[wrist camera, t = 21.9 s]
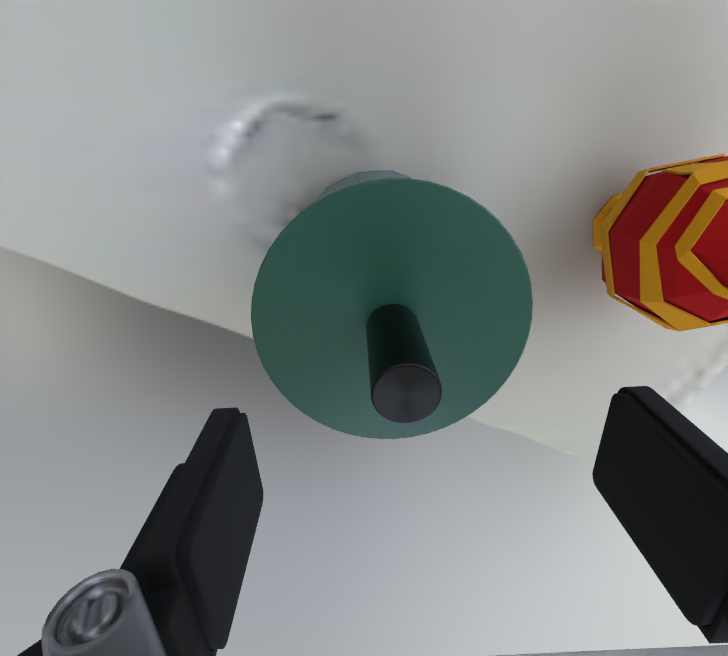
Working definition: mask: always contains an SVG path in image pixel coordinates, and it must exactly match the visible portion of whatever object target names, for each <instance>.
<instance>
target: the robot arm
mask: <svg viewBox="0 0 728 656" xmlns="http://www.w3.org/2000/svg"><path fill="white" fill-rule="evenodd" d="M593 481H594V484H595V486H596V487H597V489H598V491H599V492H600V493H601V495H602V496H603V498H604V499H605V501H606V502H607V503H608V505H609V507H610V508H611V510H612V511H613V512H614V514H615V515H616V517H617V518H618V520H619V521H620V523H621V524H622V526H623V527H624V528H625V530H626V531H627V533H628V534H629V536H630V537H631V538H632V540H633V542H634V543H635V545H636V546H637V547H638V549H639V550H640V552H641V553H642V555H643V556H644V558H645V559H646V561H647V562H648V564H649V565H650V567H651V568H652V569H653V571H654V572H655V574H656V575H657V577H658V578H659V580H660V581H661V583H662V584H663V585H664V587H665V588H666V590H667V591H668V593H669V594H670V596H671V597H672V599H673V600H674V601H675V603H676V604H677V606H678V607H679V609H680V610H681V612H682V613H683V615H684V616H685V617H686V618H687V620H688V621H689V622H691V623H692V624H693V625H697V626H698V627H699V629H700V630H701V632H702V633H703V634H704V636H705V638H706V639H707V640H708V642H709V643H728V453H727V452H726V451H724V450H723V449H722V448H721V447H720V446H718V445H717V444H716V443H715V442H714V441H713V440H712V439H710V438H709V437H708V436H707V435H706V434H704V433H703V432H702V431H701V430H700V429H699V428H698V427H696V426H695V425H694V424H693V423H692V422H690V421H689V420H688V419H687V418H686V417H685V416H683V415H682V414H681V413H680V412H679V411H678V410H676V409H675V408H674V407H673V406H672V405H671V404H669V403H668V402H667V401H666V400H665V399H664V398H662V397H661V396H660V395H659V394H658V393H656V392H655V391H654V390H653V389H652V388H650V387H648V386H636V387H623V388H621V389H620V390H619V391H618V393H616V394H614V395H613V396H612V399H611V403H610V407H609V410H608V414H607V418H606V422H605V426H604V430H603V434H602V438H601V442H600V445H599V449H598V453H597V457H596V461H595V465H594V469H593ZM262 503H263V487H262V483H261V478H260V474H259V469H258V465H257V460H256V455H255V451H254V446H253V441H252V437H251V432H250V428H249V423H248V419H247V415H246V414H245V413H240V412H239V409H238V408H219V409H214V410H213V411H212V412H211V414H210V416H209V418H208V420H207V422H206V424H205V426H204V428H203V429H202V431H201V433H200V435H199V437H198V439H197V441H196V443H195V445H194V447H193V449H192V451H191V452H190V454H189V456H188V458H187V460H186V462H185V463H182V464H179V465H178V466H176V468H175V469H174V471H173V473H172V474H171V476H170V478H169V479H168V481H167V483H166V485H165V487H164V489H163V491H162V492H161V494H160V496H159V498H158V500H157V501H156V503H155V505H154V507H153V509H152V511H151V512H150V514H149V516H148V518H147V520H146V522H145V523H144V525H143V527H142V529H141V531H140V533H139V534H138V536H137V538H136V540H135V542H134V544H133V545H132V547H131V549H130V551H129V553H128V554H127V556H126V558H125V560H124V562H123V564H122V565H121V567H120V569H110V570H106V571H101V572H98V573H96V574H94V575H92V576H90V577H88V578H86V579H84V580H82V581H81V582H80V583H78V584H77V585H75V586H74V587H73V588H71V589H70V590H69V591H68V592H67V593H66V594H65V595H64V596H63V597H62V598H61V599H60V600H59V601H58V602H57V604H56V605H55V606H54V608H53V609H52V611H51V612H50V613H49V615H48V617H47V619H46V622H45V624H44V627H43V630H42V639H41V640H39V641H38V642H37V643H35V644H33V645H32V646H31V647H29V648H28V649H26V650H25V651H23V652H22V653H20V654H19V655H18V656H216V652H217V649H223V648H224V647H225V645H226V643H227V640H228V637H229V632H230V629H231V625H232V621H233V617H234V613H235V609H236V606H237V601H238V597H239V594H240V590H241V586H242V582H243V578H244V574H245V570H246V566H247V562H248V558H249V555H250V550H251V546H252V543H253V539H254V535H255V531H256V527H257V523H258V519H259V515H260V511H261V507H262ZM499 656H728V645H717V646H694V647H671V648H649V649H625V650H603V651H582V652H560V653H539V654H520V655H519V654H518V655H499Z"/></svg>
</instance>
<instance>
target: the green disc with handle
mask: <svg viewBox="0 0 728 656" xmlns="http://www.w3.org/2000/svg"><path fill="white" fill-rule="evenodd" d="M532 304H533V301H532V289H531V282H530V278H529V274H528V269H527V266H526V264H525V261H524V259H523V256H522V254H521V251H520V249H519V248H518V246H517V244H516V243H515V241H514V239H513V238H512V236H511V235H510V233H509V232H508V231H507V230H506V228H505V227H504V226H503V225H502V223H501V222H500V221H499V220H498V219H497V218H496V217H495V216H493V215H492V214H491V213H490V212H489V211H488V210H487V209H486V208H485V207H483V206H482V205H480V204H479V203H477V202H476V201H474V200H473V199H471V198H470V197H468V196H466V195H464V194H461V193H459V192H457V191H455V190H453V189H451V188H449V187H446V186H442V185H439V184H436V183H432V182H429V181H423V180H417V179H410V178H383V179H375V180H367V181H363V182H360V183H356V184H352V185H349V186H346V187H343V188H341V189H339V190H336V191H334V192H332V193H329V194H327V195H326V196H324V197H322V198H321V199H319V200H317V201H316V202H314V203H312V204H311V205H309V206H308V207H307V208H306V209H304V210H303V211H302V212H301V213H300V214H298V215H297V216H296V217H295V218H294V219H293V220H292V221H291V222H290V223H289V224H288V225H287V226H286V227H285V228H284V230H283V231H282V232H281V233H280V234H279V236H278V237H277V239H276V240H275V241H274V243H273V244H272V246H271V247H270V249H269V250H268V252H267V254H266V256H265V258H264V260H263V262H262V264H261V266H260V269H259V272H258V275H257V278H256V281H255V285H254V291H253V296H252V306H251V322H252V331H253V337H254V341H255V345H256V349H257V352H258V355H259V357H260V359H261V362H262V364H263V367H264V368H265V370H266V372H267V373H268V375H269V377H270V379H271V380H272V382H273V383H274V384H275V386H276V387H277V388H278V390H279V391H280V392H281V393H282V394H283V395H284V396H285V397H286V398H287V399H288V400H289V401H290V402H291V403H292V404H293V405H294V406H295V407H296V408H298V409H299V410H300V411H302V412H303V413H304V414H306V415H308V416H309V417H311V418H312V419H314V420H316V421H317V422H319V423H321V424H324V425H326V426H328V427H330V428H332V429H335V430H338V431H341V432H344V433H347V434H351V435H356V436H361V437H367V438H377V439H397V438H406V437H413V436H418V435H422V434H427V433H430V432H432V431H436V430H439V429H442V428H444V427H447V426H449V425H451V424H453V423H455V422H457V421H459V420H461V419H463V418H464V417H466V416H468V415H469V414H471V413H472V412H474V411H475V410H476V409H478V408H479V407H480V406H482V405H483V404H484V403H485V402H487V401H488V400H489V399H490V398H491V397H492V396H493V395H494V394H495V393H496V392H497V391H498V390H499V389H500V387H501V386H502V385H503V384H504V383H505V381H506V380H507V379H508V377H509V376H510V374H511V373H512V371H513V370H514V368H515V367H516V365H517V363H518V361H519V359H520V357H521V355H522V353H523V350H524V347H525V344H526V341H527V338H528V335H529V330H530V325H531V320H532Z"/></svg>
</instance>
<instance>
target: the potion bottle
mask: <svg viewBox="0 0 728 656" xmlns="http://www.w3.org/2000/svg"><path fill="white" fill-rule="evenodd" d="M696 162H698V163H696ZM691 163H695V164H691ZM687 164H688V165H687ZM682 165H684V166H682ZM677 166H679V167H677ZM673 167H675V168H673ZM668 168H670V169H668ZM663 169H666V170H663ZM659 170H663V171H662V172H660V173H656V174H652V175H648V176H646V174H647V173H650V172H654V171H659ZM593 237H594V247H595V248H596V249H597V250H599V251H600V252H602V280H603V281H604V282H605V283H606V285H607V292H608V294H609V295H610V296H611V297H612V298H614V299H616V300H618V301H620V302H622V303H624V304H626V305H627V306H629V307H631V308H632V309H634V310H636V311H637V312H639V313H641V314H642V315H644V316H646V317H647V318H649V319H651V320H653V321H654V322H656V323H658V324H659V325H661V326H663V327H664V328H667V329H672V330H676V331H684V330H690V329H696V328H702V327H707V326H713V325H718V324H723V323H728V156H726V155H725V154H721V155H716V156H711V157H705V158H700V159H695V160H690V161H685V162H680V163H675V164H670V165H665V166H660V167H655V168H650V169H646V170H644V171H641V172H639V173H637V175H636V176H635V177H634V179H633V180H632V182H631V183H630V185H629V186H628V187H627V189H626V190H625V192H624V193H622V194H618V195H614V196H612V198H611V199H610V200H609V201H608V203H607V204H606V205H605V206H604V208H603V209H602V210H601V211H600V213H599V214H598V215H597V216H596V218H595V219H594V220H593ZM615 293H616V294H617V295H619V296H620V297H622V298H623V299H625V300H626V301H628V302H629V303H631V304H632V305H634V306H635V307H634V306H632V305H630V304H628V303H626V302H625V301H623V300H621V299H620V298H618V297H616V296H615ZM636 307H637V308H636Z"/></svg>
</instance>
